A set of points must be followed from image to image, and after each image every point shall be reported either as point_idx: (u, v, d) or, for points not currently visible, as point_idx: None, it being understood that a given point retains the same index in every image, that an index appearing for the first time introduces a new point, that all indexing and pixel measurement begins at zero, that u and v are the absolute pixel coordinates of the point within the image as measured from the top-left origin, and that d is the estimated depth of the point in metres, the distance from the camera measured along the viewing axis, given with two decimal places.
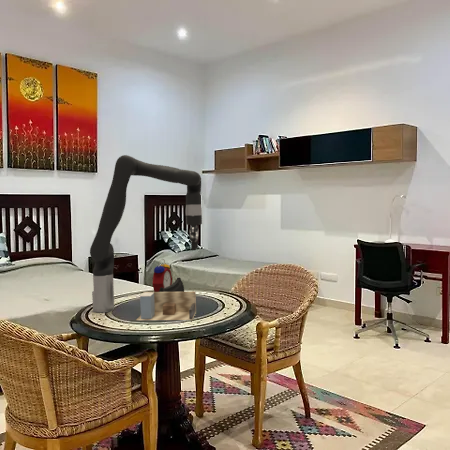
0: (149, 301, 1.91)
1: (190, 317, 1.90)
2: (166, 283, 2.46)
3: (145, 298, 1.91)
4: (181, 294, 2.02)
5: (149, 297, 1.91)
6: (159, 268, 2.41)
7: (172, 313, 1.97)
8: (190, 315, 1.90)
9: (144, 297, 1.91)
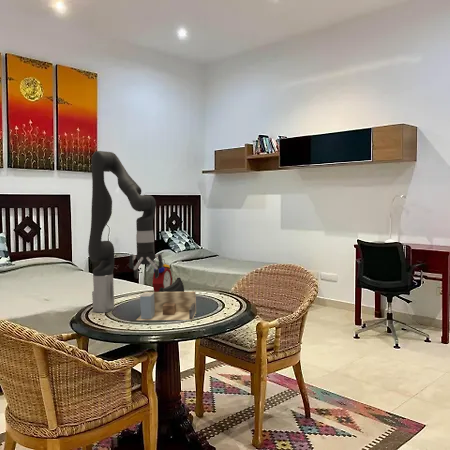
0: (149, 301, 1.91)
1: (190, 317, 1.90)
2: (166, 283, 2.46)
3: (145, 298, 1.91)
4: (181, 294, 2.02)
5: (149, 297, 1.91)
6: None
7: (172, 313, 1.97)
8: (190, 315, 1.90)
9: (144, 297, 1.91)
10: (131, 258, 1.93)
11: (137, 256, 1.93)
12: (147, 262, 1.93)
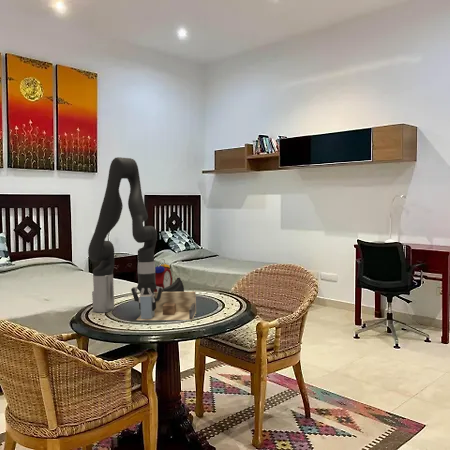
0: (149, 301, 1.91)
1: (190, 317, 1.90)
2: (166, 283, 2.46)
3: (145, 298, 1.91)
4: (181, 294, 2.02)
5: (149, 297, 1.91)
6: (159, 268, 2.41)
7: (172, 313, 1.97)
8: (190, 315, 1.90)
9: (144, 297, 1.91)
10: (133, 291, 1.94)
11: (138, 287, 1.94)
12: (147, 292, 1.94)
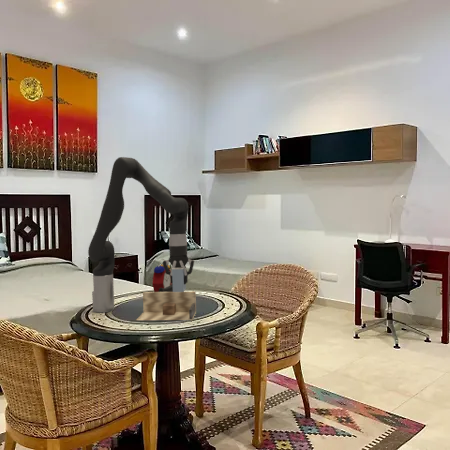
0: (181, 274, 1.88)
1: (190, 317, 1.90)
2: (166, 283, 2.46)
3: (177, 271, 1.88)
4: (181, 294, 2.02)
5: (181, 270, 1.88)
6: (159, 268, 2.41)
7: (172, 313, 1.97)
8: (190, 315, 1.90)
9: (176, 270, 1.88)
10: (165, 264, 1.90)
11: (170, 260, 1.90)
12: (178, 265, 1.90)
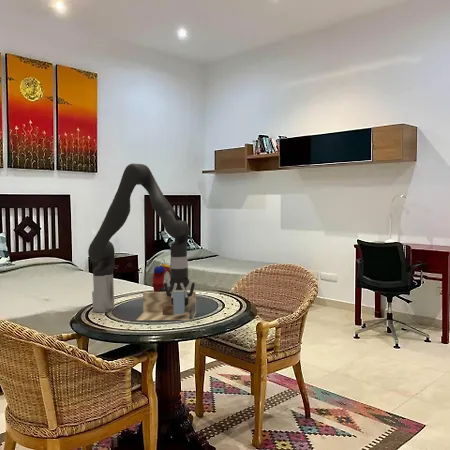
0: (182, 296, 1.89)
1: (190, 317, 1.90)
2: None
3: (178, 294, 1.89)
4: None
5: (182, 292, 1.89)
6: (159, 268, 2.41)
7: (172, 313, 1.97)
8: (190, 315, 1.90)
9: (177, 292, 1.89)
10: (166, 286, 1.92)
11: (171, 282, 1.92)
12: (179, 287, 1.92)
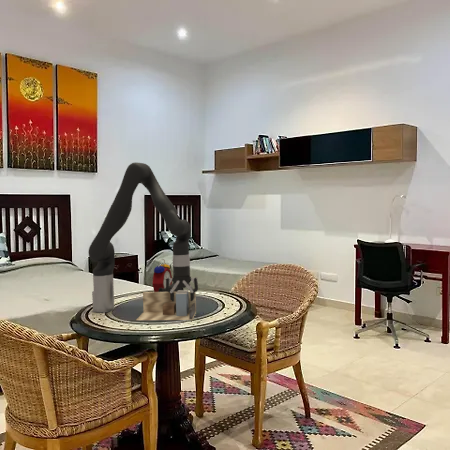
0: (184, 298, 1.95)
1: (190, 317, 1.90)
2: None
3: (180, 296, 1.95)
4: None
5: (185, 294, 1.95)
6: (159, 268, 2.41)
7: (172, 313, 1.97)
8: (190, 315, 1.90)
9: (180, 294, 1.95)
10: (167, 281, 1.97)
11: (173, 279, 1.97)
12: (183, 285, 1.97)
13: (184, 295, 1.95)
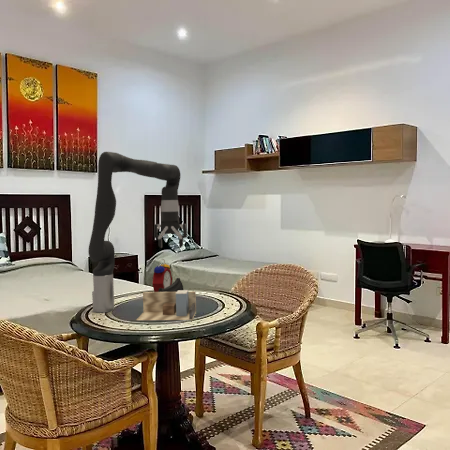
0: (184, 298, 1.95)
1: (190, 317, 1.90)
2: (166, 283, 2.46)
3: (180, 296, 1.95)
4: None
5: (185, 294, 1.95)
6: (159, 268, 2.41)
7: (172, 313, 1.97)
8: (190, 315, 1.90)
9: (180, 294, 1.95)
10: (156, 227, 1.93)
11: (162, 225, 1.93)
12: (172, 231, 1.93)
13: (184, 295, 1.95)
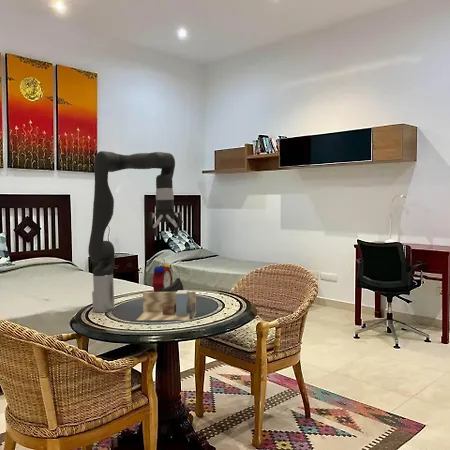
0: (184, 298, 1.95)
1: (190, 317, 1.90)
2: (166, 283, 2.46)
3: (180, 296, 1.95)
4: None
5: (185, 294, 1.95)
6: (159, 268, 2.41)
7: (172, 313, 1.97)
8: (190, 315, 1.90)
9: (180, 294, 1.95)
10: (150, 216, 1.92)
11: (156, 214, 1.92)
12: (167, 220, 1.92)
13: (184, 295, 1.95)
